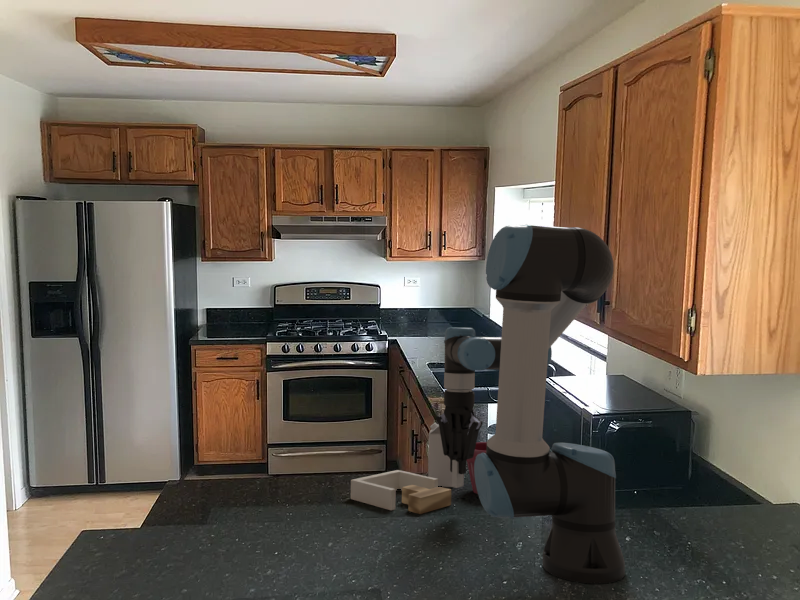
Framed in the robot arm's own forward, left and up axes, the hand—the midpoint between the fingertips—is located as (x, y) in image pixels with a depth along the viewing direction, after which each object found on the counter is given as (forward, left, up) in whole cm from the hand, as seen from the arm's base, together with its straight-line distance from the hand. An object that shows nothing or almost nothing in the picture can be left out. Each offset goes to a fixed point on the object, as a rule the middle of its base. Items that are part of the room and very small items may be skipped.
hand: (457, 486), depth 159 cm
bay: (+21, 0, -7) cm, 22 cm away
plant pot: (+8, -24, -7) cm, 26 cm away
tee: (+12, 0, -7) cm, 13 cm away
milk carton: (+23, -21, -7) cm, 32 cm away
